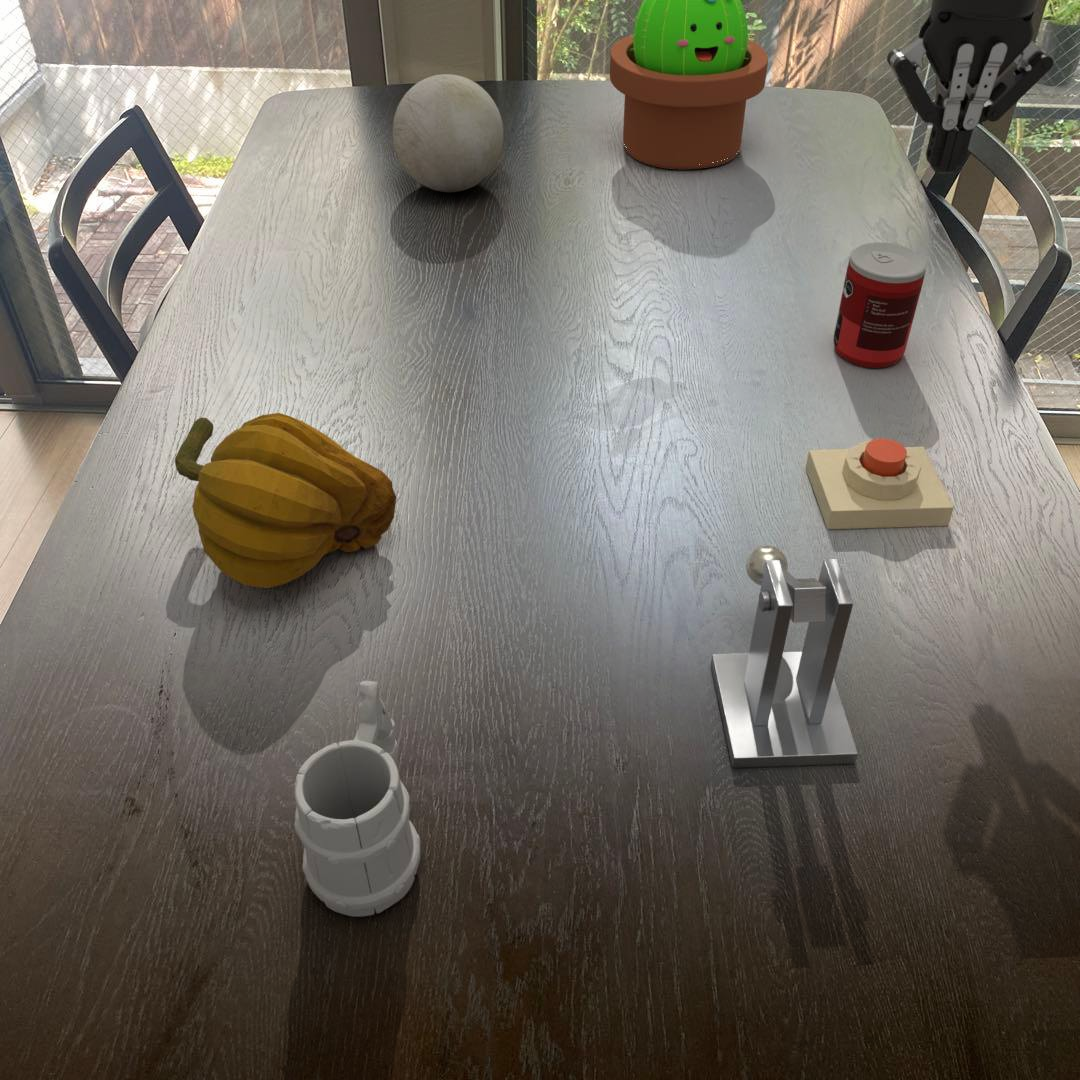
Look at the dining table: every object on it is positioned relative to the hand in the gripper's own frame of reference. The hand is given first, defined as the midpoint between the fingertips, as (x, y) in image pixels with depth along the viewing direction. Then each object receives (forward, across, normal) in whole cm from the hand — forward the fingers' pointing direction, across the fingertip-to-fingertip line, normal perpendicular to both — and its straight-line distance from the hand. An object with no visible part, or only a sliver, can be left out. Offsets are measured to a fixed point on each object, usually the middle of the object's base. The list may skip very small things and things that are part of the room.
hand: (942, 169), depth 90 cm
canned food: (+27, +3, +15) cm, 31 cm away
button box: (+27, -3, -10) cm, 29 cm away
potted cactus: (+27, -10, +72) cm, 78 cm away
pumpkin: (+27, -57, -15) cm, 65 cm away
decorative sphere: (+27, -44, +60) cm, 79 cm away
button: (+23, -3, -10) cm, 26 cm away
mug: (+27, -47, -45) cm, 71 cm away
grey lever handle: (+19, -17, -31) cm, 40 cm away
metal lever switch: (+27, -17, -35) cm, 47 cm away
